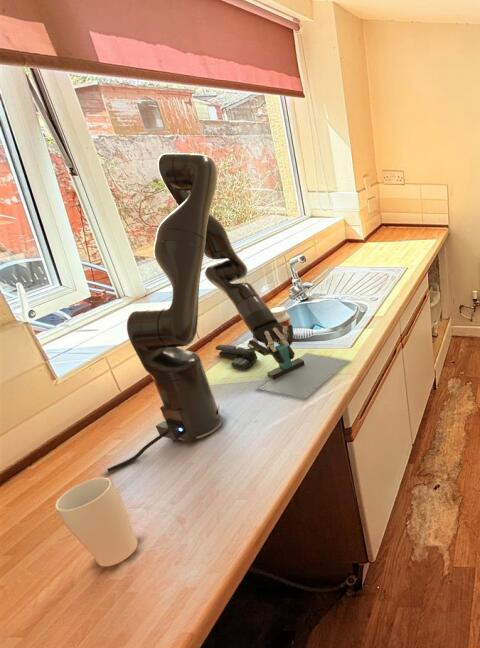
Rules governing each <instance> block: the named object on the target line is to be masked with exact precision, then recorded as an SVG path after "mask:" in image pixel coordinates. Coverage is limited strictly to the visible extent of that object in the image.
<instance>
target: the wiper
mask: <svg viewBox="0 0 480 648" xmlns="http://www.w3.org/2000/svg"><path fill="white" fill-rule="evenodd" d="M275 348H276V351H278V352H279V353H280V355H281V356H282V357H283V359H284V363H283V364H280V363H277V364H278V366H277V367H275V368H274V369H271V370H269V371H268V372H266V374H267V377H268V378H269V379H270V380H271V379H273V380H274V379H276V378H278V377H280V376H282V375H284V374H286V373H288V372H291V371H293V370H295V369H297V368H299V367H301V366H303V365H305V364H304V361H303V360H301V359H300V357H297V358H295V359H290V355H289V351H288V347H287V346H285V345H283V344H280V345H279V344H278V345H275Z"/></svg>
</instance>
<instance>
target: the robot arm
mask: <svg viewBox="0 0 480 648" xmlns="http://www.w3.org/2000/svg"><path fill="white" fill-rule="evenodd" d="M157 168H158V169H157V170H158V173H159V176H160V178H161V181H162V182H163V184H164V186H165V187H166V189H167V191H168V192H169V194H170V195H171V197H172V199H173V200H174V202H175V203H176V205H177V206H178V207H176V208H175V209H174V210H172V212H170V213H169V214H168V215H167V216H166V217H165V218H164V219H162V221H161V223H160V224H159V226H158V228H157V231H156V235H155V241H154V245H153V256H154V258H155V260H156V263H157V264H158V266H159V267H160V269H161V270H162V272H163V273H164V274H165V276H166V277H167V279H168V281H169V283H170V286H171V288H172V299H171V304H170V306H159V307H157V306H156V307H145V308H144V307H143V308H138V309H135V310H134V311H132V312H131V313H130V314H129V316H128V318H127V321H126V333H127V337H128V339H129V342H130V343H131V346H132V348H133V351H135V353H136V355H137V358H138V359H139V361H140V362H141V365H142V367H143V368H144V370H145V371H146V372H147V373H148V374H149V375H150V376H151V379H152V380H153V383H154V385H155V387H156V390H157V392H158V394H159V397H160V399H161V402H162V404H163V405H161V406H160V407H159V409H160V411H161V414H162V416H163V418H164V420H163V421H161V422H160V423H158V424H156V425H155V428H156V430H157V433H158V434H159V435H158V436H157V437H155V438H153V439H152V440H151V441H149V442H148V443H146V444H145V445H144V446H143V447H142V448H141V449H140V450H139V451H138V452H137V453H136V454H134V455H133V456H132V457H130V458H128V459H126V460H124V461H122V462H120V463H117V464H115V465H113V466H111V467H108V468H107V469H106V470H107V472H108V473H111V472H112V471H114V470H117V469H119V468H122V467H125V466H126V465H128V464H130V463H132V462H134V461H135V460H137V459H138V458H139V457H141V456H142V455H143V454H144V452H145V451H146V450H148V449H149V448H150V447H152V446H153V445H154V444H156V442H158V441H160V440H161V439H162V438H166V439H171V440H175V441H176V440H178V441H181V442H186V443H190V444H193V443H195V442H196V441H198V440H200V439H203V438H206V437H209V436H211V435H212V434H214V433H215V432H216V431H218V430H219V428H221V426H222V424H223V422H224V421H223V417H222V415H221V412H220V405H219V404H217V402H216V399H215V396H214V394H213V391H212V388H211V385H210V383H209V380H208V376H207V373H206V371H205V369H204V365H203V363H202V360H201V358H200V356H199V355H198V354H197V352H194V351H191V350H187V349H183V347H187V346H190V345H191V344H192V343H193V342H194V340H195V338H196V337H197V336H196V335H197V332H198V325H199V299H200V298H199V294H200V281H201V274H202V273H201V272H202V267H203V262H204V261H203V260H204V255H205V257H206V258H207V259H210V260H218V261H216V262H213V263H210V264H208V265H206V267H205V268H204V275H205V277H206V279H207V280H208V281H209V282H210V283H211V284H212V285H213V286H215V287H216V288H217V289H218V290H219V291H221V292H222V293H223V294H224V295H225V296H226V297H227V298H228V299H229V300H230V301H231V303H232V305H233V306H234V307H235V309H236V311H237V313H238V315H239V316H240V319H241V320H242V321H243V322H244V323H245V325H246V327H247V328H248V330H249V331H250V333H251V334H252V339H250V340H249V341H248V343H247V347H248V348H251V349H253V350H255V352H256V353H259V354H260V355H262V356H264V357H266V356H272V357H273V359H274V360H275V362H276V363H277V364H278V363H280V364H283V363H284V359H283V357H282V356H281V355H280V353H279V352H278V351H276V348H275V347H276V345H275V342H276V343H277V344H278V345H280V344H283V345H285V346H287V347H288V351H289V355H290V359H291V360H294V358H295V351H294V350H293V349H292V348H291V345H292V344H293V342H294V341H295V339H294V335H293V334H294V327H293V325H292V324H291V325H289V326H282V325H281V324H279V323H278V322H277V320H276V318H275V317H274V315H273V314H272V312H271V311H270V310H271V309H270V308H269V306H268V305H267V304H266V302H265V301H264V300H263V299H262V297H261V296H260V295H259V294H258V292H257V291H256V289H255V288H254V287H253V285H252V284H251V283H250V282H237V283H233V282H236V281H238V280H239V281H240V280H241V279H244V278H246V276H247V274H248V267H247V265H246V264H245V262H244V261H243V260H242V259H241V258H240V257H239V255H238V254H237V253H236V251H235V250H234V248H233V246H232V244H231V243H232V242H231V241H230V238H229V236H228V232H227V231H226V228H225V227H224V226H223V224H222V223H221V222H220V221H219V220H218V219H217V218H216V217H215V216H214V215H213V214H211V213H210V212H211V209H212V204H213V200H214V197H215V192H216V189H217V186H218V185H217V184H218V169H217V165H216V162H215V161H214V160H213V158H212V157H210V156H208V155H205V154H202V153H201V154H200V153H182V152H181V153H179V152H167V153H162V154H160V156H159V158H158V160H157ZM282 330H284V332H285V333H287V340H285V337H284V336H283V335H282ZM259 342H260V343H262V344H264V346H263V345H262V344H260V343H259Z"/></svg>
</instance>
